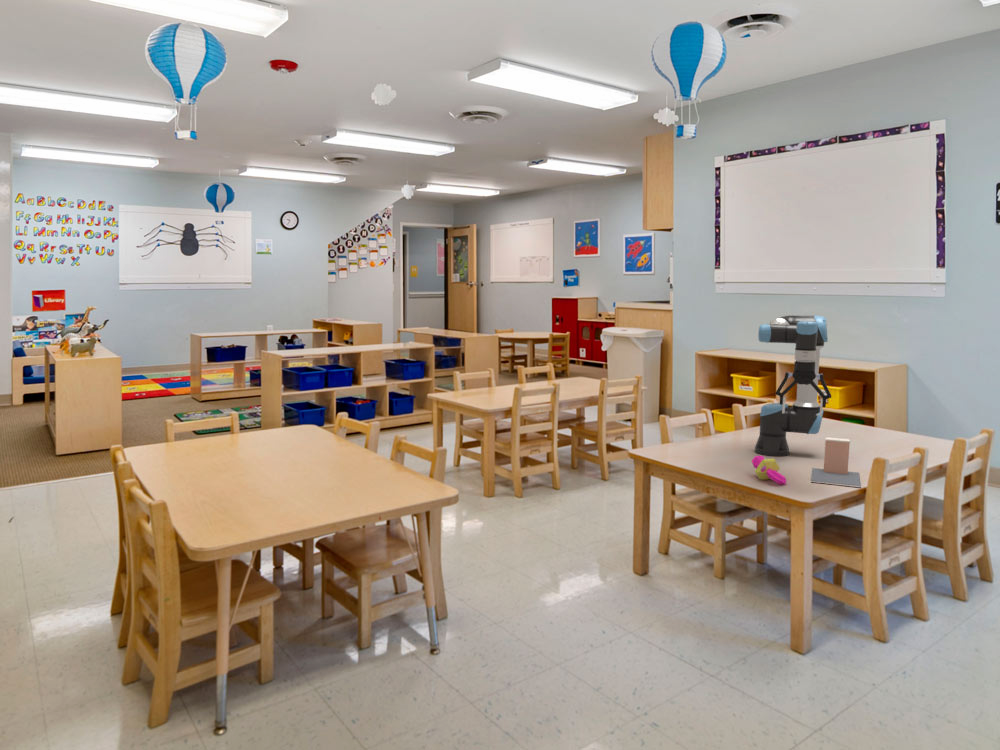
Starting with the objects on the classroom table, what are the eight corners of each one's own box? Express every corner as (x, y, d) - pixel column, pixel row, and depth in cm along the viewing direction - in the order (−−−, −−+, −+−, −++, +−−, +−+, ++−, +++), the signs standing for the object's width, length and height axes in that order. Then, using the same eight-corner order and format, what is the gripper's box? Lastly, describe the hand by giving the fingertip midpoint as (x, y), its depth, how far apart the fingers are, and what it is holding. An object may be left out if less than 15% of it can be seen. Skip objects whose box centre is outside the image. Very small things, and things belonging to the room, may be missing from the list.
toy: (766, 489, 275) (781, 467, 272) (739, 465, 290) (753, 444, 288) (783, 495, 279) (798, 474, 277) (755, 471, 295) (769, 451, 292)
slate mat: (812, 469, 300) (812, 467, 300) (859, 474, 292) (859, 472, 292) (810, 482, 280) (810, 480, 280) (861, 488, 272) (861, 486, 272)
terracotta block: (823, 469, 297) (825, 437, 295) (847, 472, 293) (849, 439, 291) (823, 471, 293) (825, 439, 291) (847, 474, 289) (849, 441, 288)
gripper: (770, 360, 275) (767, 413, 278) (840, 363, 265) (836, 418, 268) (771, 358, 282) (769, 410, 285) (840, 361, 272) (836, 415, 274)
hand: (801, 414), depth 276 cm, fingers open, 13 cm apart
